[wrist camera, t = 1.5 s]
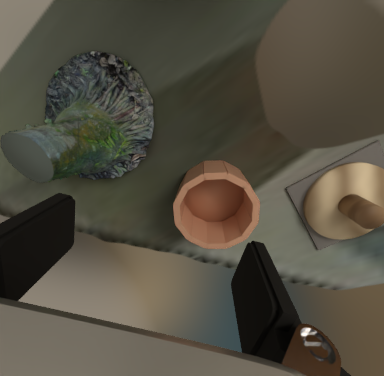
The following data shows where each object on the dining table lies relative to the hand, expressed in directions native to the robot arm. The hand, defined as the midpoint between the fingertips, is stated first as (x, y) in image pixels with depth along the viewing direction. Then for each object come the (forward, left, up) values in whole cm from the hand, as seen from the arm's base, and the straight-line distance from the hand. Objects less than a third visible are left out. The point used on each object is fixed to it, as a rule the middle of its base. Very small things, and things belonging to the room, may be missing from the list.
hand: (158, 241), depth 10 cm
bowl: (0, +9, -26) cm, 27 cm away
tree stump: (+10, -13, -26) cm, 31 cm away
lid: (-20, +23, -26) cm, 39 cm away
